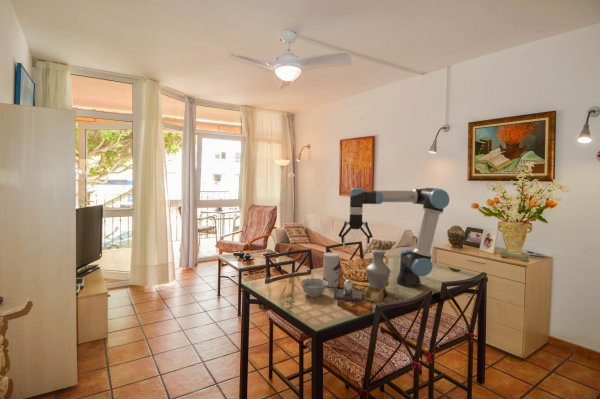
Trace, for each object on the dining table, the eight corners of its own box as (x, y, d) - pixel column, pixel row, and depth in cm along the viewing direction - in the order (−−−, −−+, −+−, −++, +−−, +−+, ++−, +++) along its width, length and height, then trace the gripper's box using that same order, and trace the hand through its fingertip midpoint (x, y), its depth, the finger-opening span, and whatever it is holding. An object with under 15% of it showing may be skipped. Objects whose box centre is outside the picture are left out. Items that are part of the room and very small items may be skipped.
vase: (387, 296, 194) (389, 254, 192) (363, 292, 199) (365, 252, 197) (390, 288, 208) (391, 249, 206) (367, 285, 212) (368, 247, 211)
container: (337, 287, 206) (338, 256, 205) (321, 286, 208) (322, 255, 207) (338, 282, 216) (339, 252, 215) (323, 281, 218) (324, 251, 217)
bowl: (306, 301, 183) (307, 288, 183) (295, 291, 198) (296, 279, 197) (331, 297, 190) (332, 285, 189) (319, 288, 204) (319, 276, 204)
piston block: (361, 293, 198) (361, 277, 197) (362, 300, 186) (362, 284, 185) (334, 291, 200) (334, 276, 199) (333, 298, 188) (334, 282, 187)
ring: (381, 295, 195) (382, 287, 195) (383, 301, 185) (383, 293, 185) (364, 294, 196) (364, 286, 196) (365, 300, 187) (365, 291, 186)
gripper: (376, 213, 200) (374, 247, 202) (334, 212, 202) (334, 246, 204) (378, 214, 193) (377, 250, 195) (335, 214, 195) (334, 249, 196)
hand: (355, 248), depth 199 cm, fingers open, 13 cm apart
